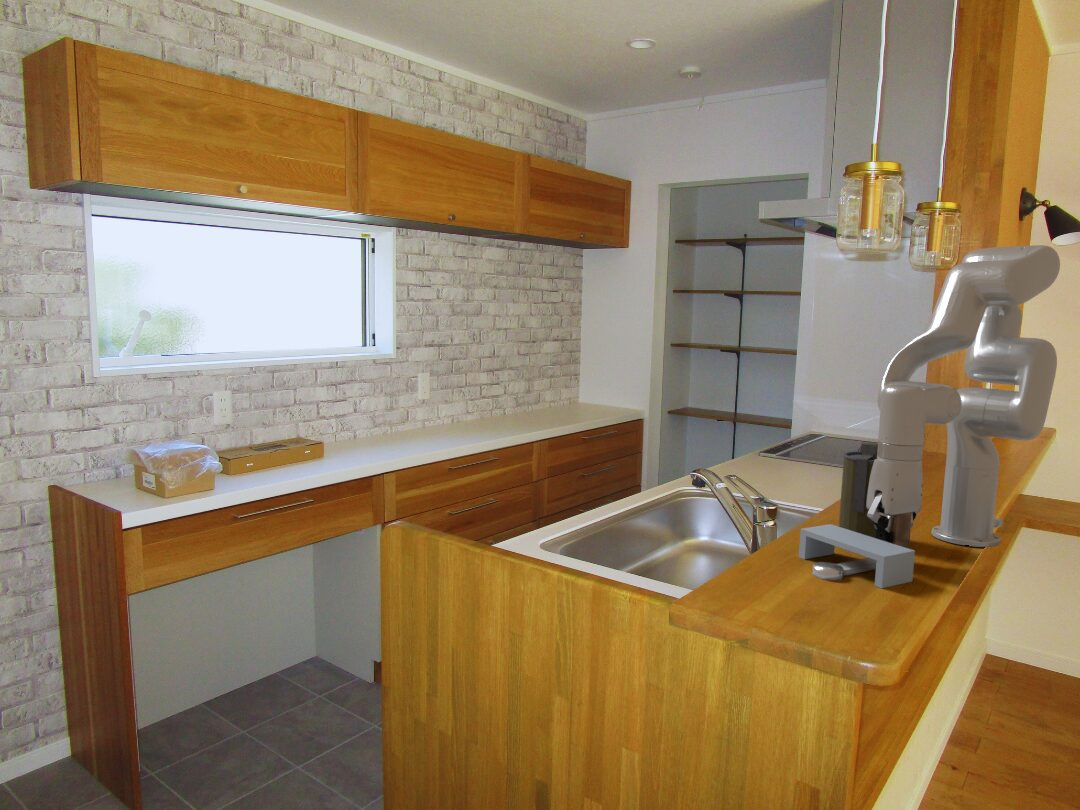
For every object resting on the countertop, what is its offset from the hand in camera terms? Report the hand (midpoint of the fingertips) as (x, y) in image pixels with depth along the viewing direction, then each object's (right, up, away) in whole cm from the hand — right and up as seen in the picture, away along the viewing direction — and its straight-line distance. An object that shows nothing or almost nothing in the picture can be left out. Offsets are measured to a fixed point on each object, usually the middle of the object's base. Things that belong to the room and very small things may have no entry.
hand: (892, 548), depth 140 cm
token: (-15, -4, -8) cm, 17 cm away
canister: (+1, -1, +15) cm, 15 cm away
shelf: (-9, -3, -4) cm, 10 cm away
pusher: (-6, -3, -3) cm, 7 cm away
